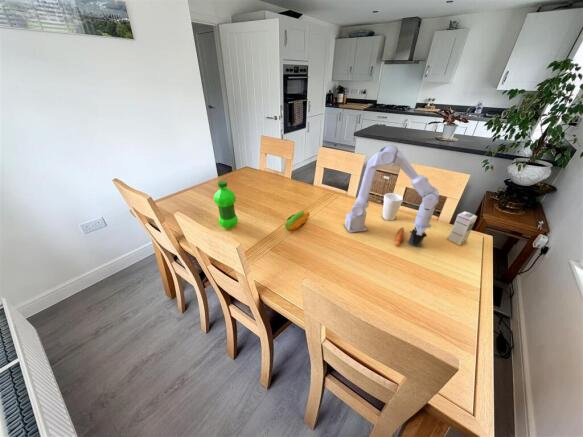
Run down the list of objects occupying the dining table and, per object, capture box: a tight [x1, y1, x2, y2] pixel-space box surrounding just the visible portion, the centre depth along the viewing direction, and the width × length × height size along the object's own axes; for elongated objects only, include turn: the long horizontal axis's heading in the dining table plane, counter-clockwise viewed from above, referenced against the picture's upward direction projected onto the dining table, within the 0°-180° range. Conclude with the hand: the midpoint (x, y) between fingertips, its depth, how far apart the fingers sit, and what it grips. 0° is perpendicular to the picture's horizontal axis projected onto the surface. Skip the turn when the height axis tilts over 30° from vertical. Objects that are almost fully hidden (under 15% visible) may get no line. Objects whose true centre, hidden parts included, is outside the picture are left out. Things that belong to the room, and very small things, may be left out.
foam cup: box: [382, 192, 404, 221], centre depth 129 cm, size 10×9×13 cm
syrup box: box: [447, 211, 478, 246], centre depth 110 cm, size 6×6×14 cm
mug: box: [408, 228, 428, 248], centre depth 110 cm, size 6×7×6 cm
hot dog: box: [284, 210, 310, 232], centre depth 124 cm, size 7×8×20 cm
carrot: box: [395, 227, 405, 247], centre depth 115 cm, size 16×3×3 cm, turn 150°
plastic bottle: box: [213, 180, 239, 230], centre depth 118 cm, size 10×10×25 cm
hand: (415, 239), depth 111 cm, fingers open, 7 cm apart
